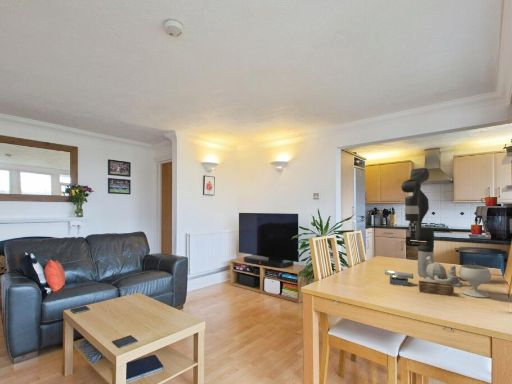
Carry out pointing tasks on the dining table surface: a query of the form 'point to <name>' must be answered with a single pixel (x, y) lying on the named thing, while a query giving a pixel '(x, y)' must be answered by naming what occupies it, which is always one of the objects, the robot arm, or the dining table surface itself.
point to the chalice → (475, 278)
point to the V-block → (398, 280)
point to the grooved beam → (436, 288)
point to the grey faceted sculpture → (441, 274)
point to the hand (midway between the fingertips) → (412, 239)
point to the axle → (398, 274)
